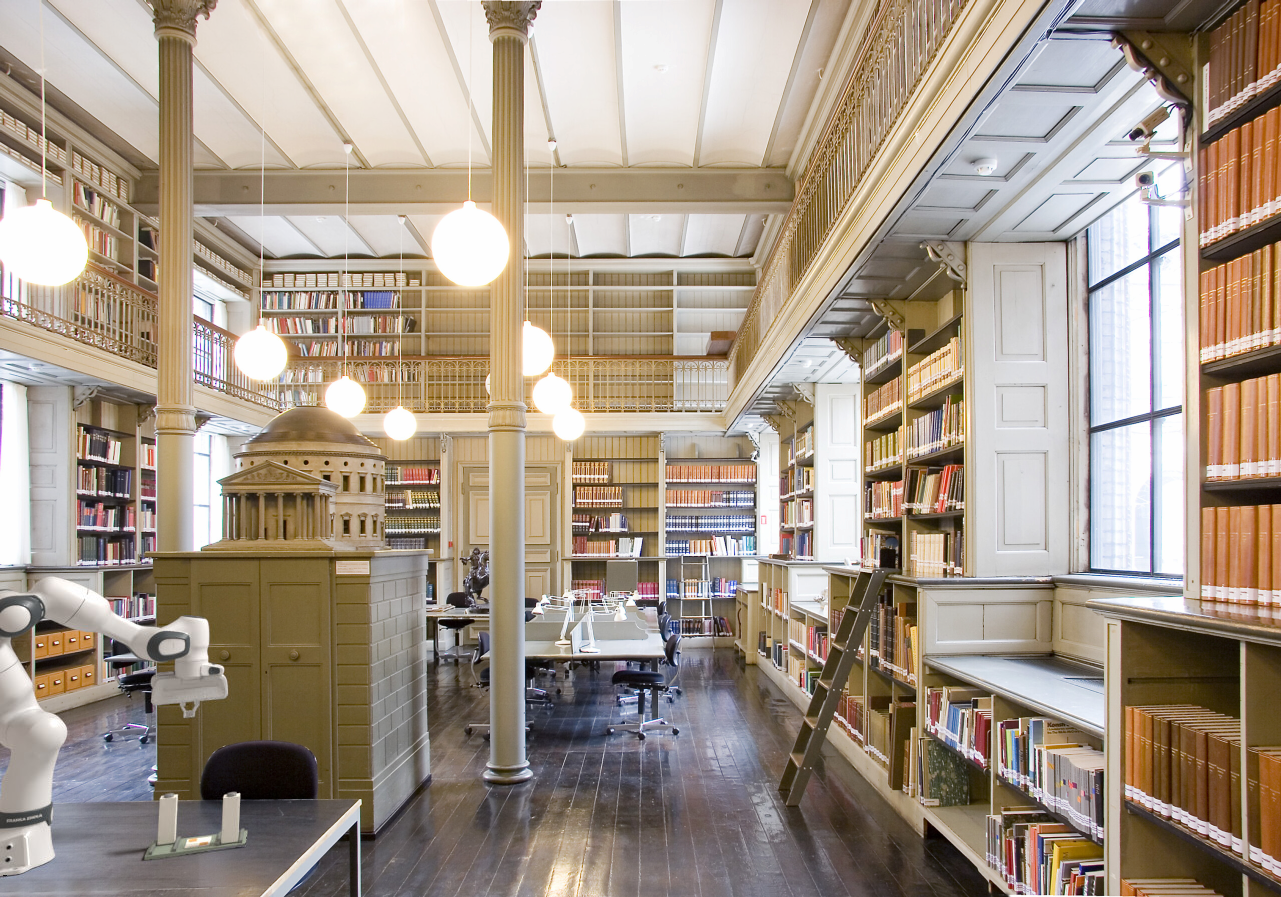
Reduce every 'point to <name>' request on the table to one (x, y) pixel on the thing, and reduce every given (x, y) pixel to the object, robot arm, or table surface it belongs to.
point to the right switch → (230, 817)
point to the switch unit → (191, 845)
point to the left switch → (167, 819)
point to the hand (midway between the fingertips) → (189, 717)
